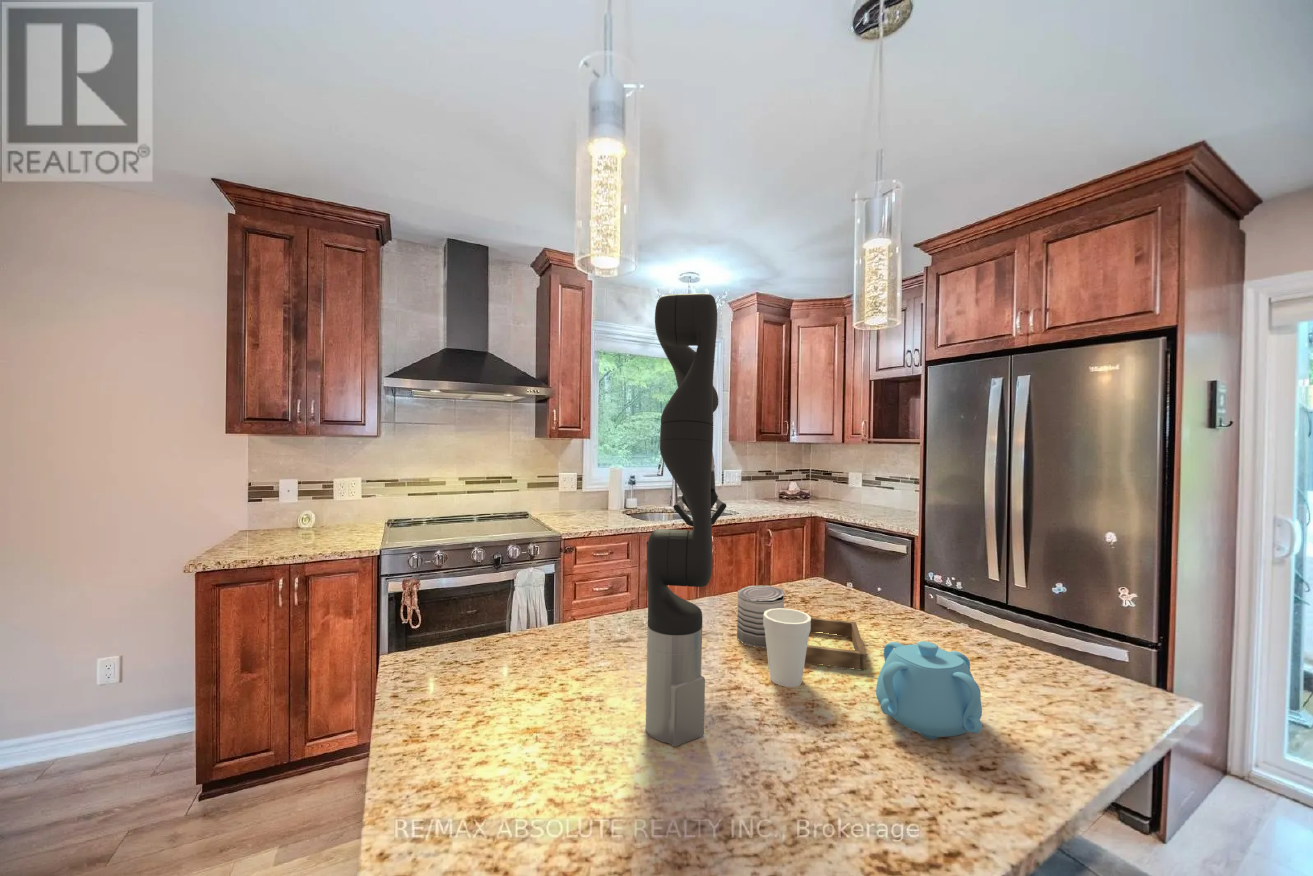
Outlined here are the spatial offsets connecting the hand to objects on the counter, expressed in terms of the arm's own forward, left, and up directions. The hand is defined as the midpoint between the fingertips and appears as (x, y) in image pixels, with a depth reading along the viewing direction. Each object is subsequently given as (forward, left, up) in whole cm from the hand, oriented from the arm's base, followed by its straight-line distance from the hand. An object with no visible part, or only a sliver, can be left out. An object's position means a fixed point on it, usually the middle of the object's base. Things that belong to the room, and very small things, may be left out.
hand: (701, 543), depth 119 cm
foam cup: (-22, -5, -25) cm, 33 cm away
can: (-4, -16, -25) cm, 30 cm away
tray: (-14, -24, -24) cm, 37 cm away
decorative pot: (-46, -14, -25) cm, 54 cm away
